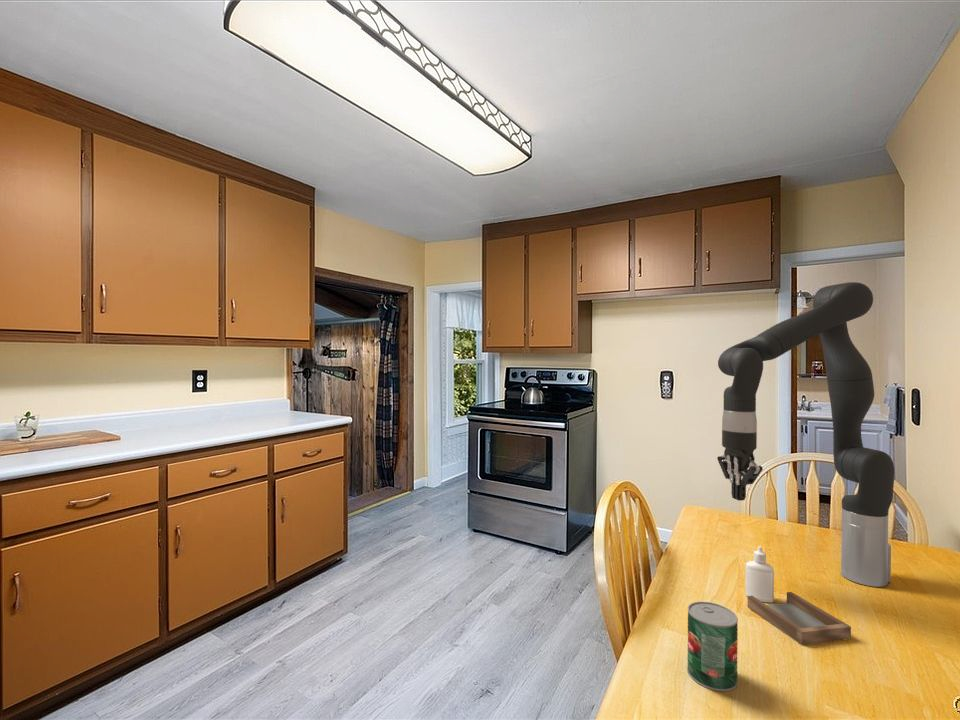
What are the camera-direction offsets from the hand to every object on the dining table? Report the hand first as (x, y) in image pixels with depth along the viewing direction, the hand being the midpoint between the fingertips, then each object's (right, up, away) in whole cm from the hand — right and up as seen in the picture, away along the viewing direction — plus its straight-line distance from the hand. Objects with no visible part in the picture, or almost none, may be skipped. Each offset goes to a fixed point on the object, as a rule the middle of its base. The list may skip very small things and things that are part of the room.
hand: (738, 499), depth 117 cm
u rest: (+3, -21, -16) cm, 27 cm away
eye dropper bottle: (+1, -21, -7) cm, 22 cm away
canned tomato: (-23, -21, -34) cm, 46 cm away
